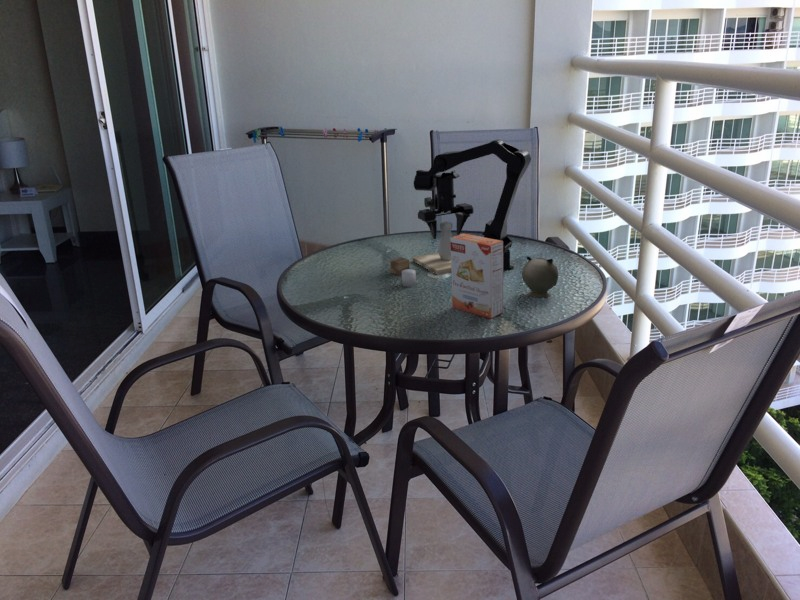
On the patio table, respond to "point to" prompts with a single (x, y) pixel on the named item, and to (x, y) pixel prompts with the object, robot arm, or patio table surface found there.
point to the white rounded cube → (409, 277)
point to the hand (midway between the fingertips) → (446, 236)
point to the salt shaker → (445, 241)
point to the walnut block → (399, 265)
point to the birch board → (433, 263)
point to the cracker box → (477, 274)
